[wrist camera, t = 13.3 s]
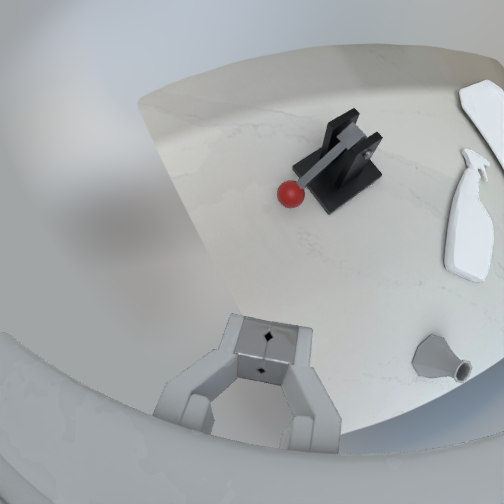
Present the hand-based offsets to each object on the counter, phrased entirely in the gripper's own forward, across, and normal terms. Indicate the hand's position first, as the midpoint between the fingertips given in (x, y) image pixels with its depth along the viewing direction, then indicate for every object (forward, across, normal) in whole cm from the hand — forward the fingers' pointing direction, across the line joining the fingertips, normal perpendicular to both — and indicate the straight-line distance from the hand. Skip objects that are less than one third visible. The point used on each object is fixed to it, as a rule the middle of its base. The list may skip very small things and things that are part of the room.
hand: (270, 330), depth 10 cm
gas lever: (+28, -3, +3) cm, 28 cm away
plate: (+51, -47, -11) cm, 70 cm away
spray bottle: (+34, -32, +6) cm, 47 cm away
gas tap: (+35, -6, +6) cm, 36 cm away
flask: (+16, -26, +25) cm, 40 cm away
